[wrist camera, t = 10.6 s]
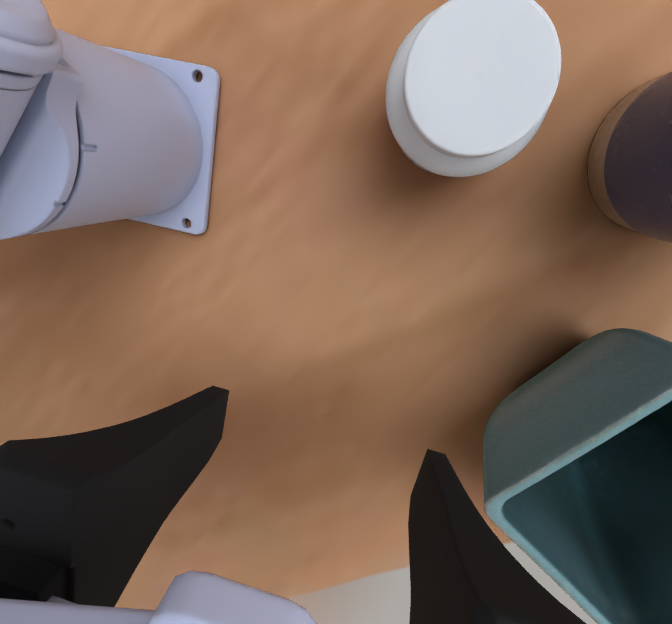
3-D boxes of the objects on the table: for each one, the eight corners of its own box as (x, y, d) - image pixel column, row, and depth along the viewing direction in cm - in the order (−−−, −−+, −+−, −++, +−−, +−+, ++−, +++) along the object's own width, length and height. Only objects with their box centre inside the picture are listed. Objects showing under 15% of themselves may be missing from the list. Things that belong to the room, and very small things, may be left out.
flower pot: (454, 389, 24) (477, 510, 15) (597, 281, 21) (723, 358, 12) (559, 494, 24) (636, 663, 16) (710, 405, 22) (901, 556, 13)
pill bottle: (371, 96, 20) (340, 43, 11) (476, 20, 18) (529, -106, 10) (428, 197, 21) (437, 215, 12) (532, 132, 19) (624, 104, 11)
